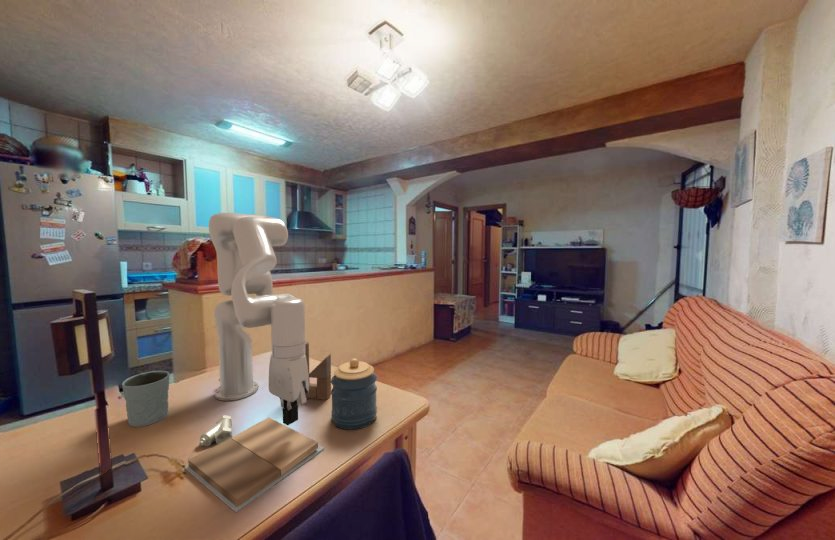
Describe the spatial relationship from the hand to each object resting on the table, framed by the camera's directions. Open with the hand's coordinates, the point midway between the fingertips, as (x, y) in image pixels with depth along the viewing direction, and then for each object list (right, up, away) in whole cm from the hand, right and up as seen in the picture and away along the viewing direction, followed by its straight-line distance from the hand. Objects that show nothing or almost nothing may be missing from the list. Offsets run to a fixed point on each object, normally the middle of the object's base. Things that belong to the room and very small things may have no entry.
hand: (290, 421), depth 75 cm
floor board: (-9, -7, -9) cm, 14 cm away
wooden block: (-3, -5, +26) cm, 26 cm away
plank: (-4, -6, 0) cm, 7 cm away
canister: (+13, -6, +14) cm, 20 cm away
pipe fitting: (-21, -6, +4) cm, 22 cm away
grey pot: (-45, -5, +12) cm, 47 cm away
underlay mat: (-6, -7, -4) cm, 10 cm away
